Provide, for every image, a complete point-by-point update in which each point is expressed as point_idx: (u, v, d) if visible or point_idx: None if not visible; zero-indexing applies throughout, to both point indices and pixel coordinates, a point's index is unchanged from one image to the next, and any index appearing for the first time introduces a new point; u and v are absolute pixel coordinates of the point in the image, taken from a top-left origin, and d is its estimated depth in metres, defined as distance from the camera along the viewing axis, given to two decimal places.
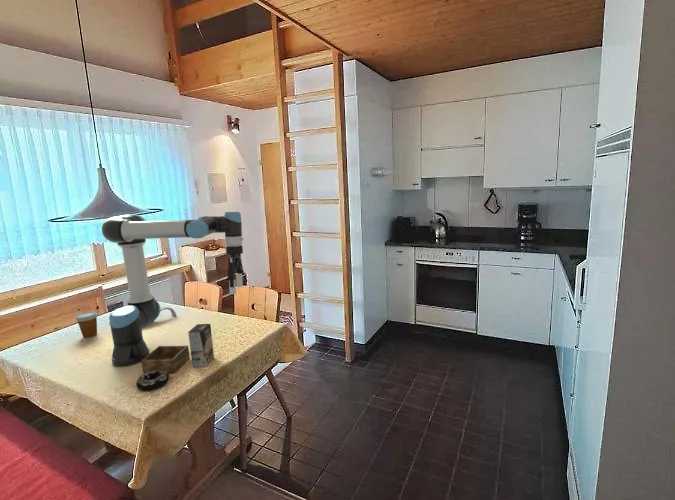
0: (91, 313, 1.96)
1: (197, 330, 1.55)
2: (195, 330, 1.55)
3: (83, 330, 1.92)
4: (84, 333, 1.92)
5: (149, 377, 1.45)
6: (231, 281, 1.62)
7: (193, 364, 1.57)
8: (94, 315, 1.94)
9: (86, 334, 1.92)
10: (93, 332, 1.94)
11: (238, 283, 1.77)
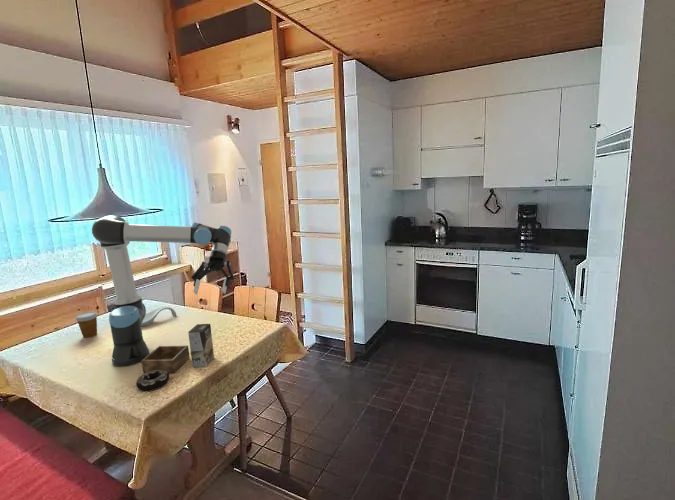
0: (91, 313, 1.96)
1: (197, 330, 1.55)
2: (195, 330, 1.55)
3: (83, 330, 1.92)
4: (84, 333, 1.92)
5: (149, 377, 1.45)
6: (229, 280, 1.71)
7: (193, 364, 1.57)
8: (94, 315, 1.94)
9: (86, 334, 1.92)
10: (93, 332, 1.94)
11: (196, 289, 1.70)
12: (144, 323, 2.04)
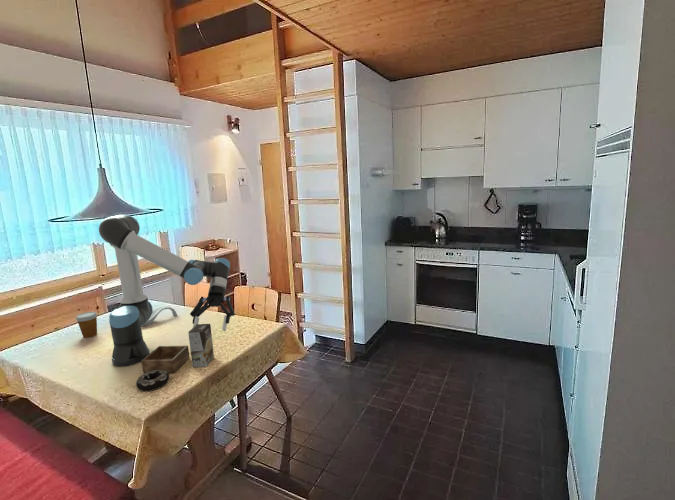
0: (91, 313, 1.96)
1: (197, 330, 1.55)
2: (195, 330, 1.55)
3: (83, 330, 1.92)
4: (84, 333, 1.92)
5: (149, 377, 1.45)
6: (229, 317, 1.67)
7: (193, 364, 1.57)
8: (94, 315, 1.94)
9: (86, 334, 1.92)
10: (93, 332, 1.94)
11: None
12: None
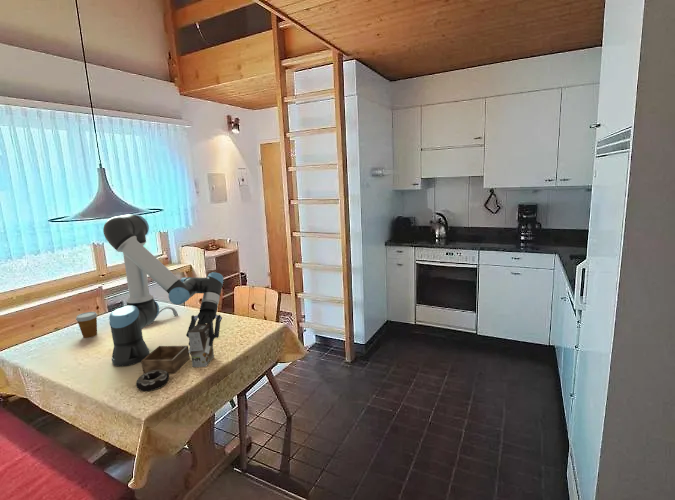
0: (91, 313, 1.96)
1: (197, 330, 1.55)
2: (195, 330, 1.55)
3: (83, 330, 1.92)
4: (84, 333, 1.92)
5: (149, 377, 1.45)
6: (213, 339, 1.59)
7: (193, 364, 1.57)
8: (94, 315, 1.94)
9: (86, 334, 1.92)
10: (93, 332, 1.94)
11: None
12: None
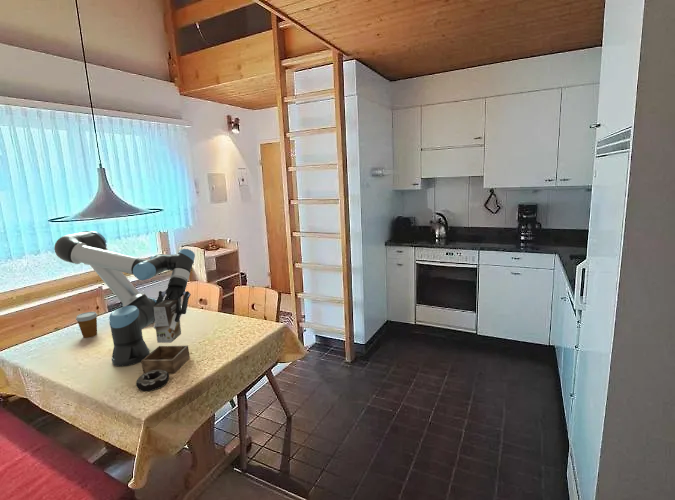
0: (91, 313, 1.96)
1: (163, 305, 1.51)
2: (161, 305, 1.51)
3: (83, 330, 1.92)
4: (84, 333, 1.92)
5: (149, 377, 1.45)
6: (179, 315, 1.56)
7: (158, 340, 1.53)
8: (94, 315, 1.94)
9: (86, 334, 1.92)
10: (93, 332, 1.94)
11: None
12: None
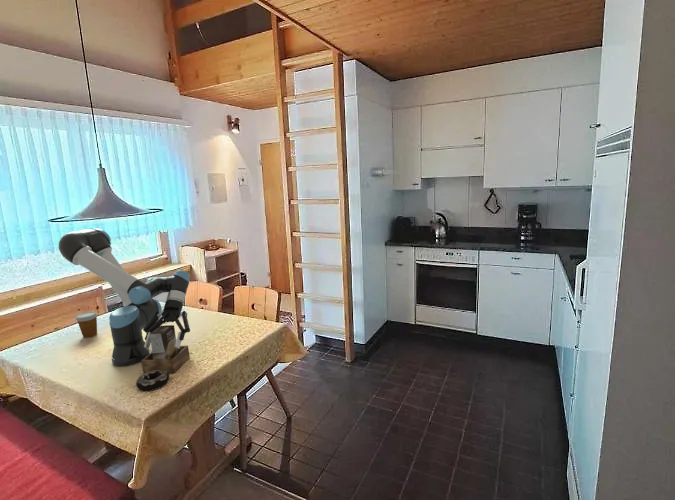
0: (91, 313, 1.96)
1: (159, 332, 1.53)
2: (157, 332, 1.53)
3: (83, 330, 1.92)
4: (84, 333, 1.92)
5: (149, 377, 1.45)
6: (184, 333, 1.58)
7: None
8: (94, 315, 1.94)
9: (86, 334, 1.92)
10: (93, 332, 1.94)
11: (147, 343, 1.56)
12: None
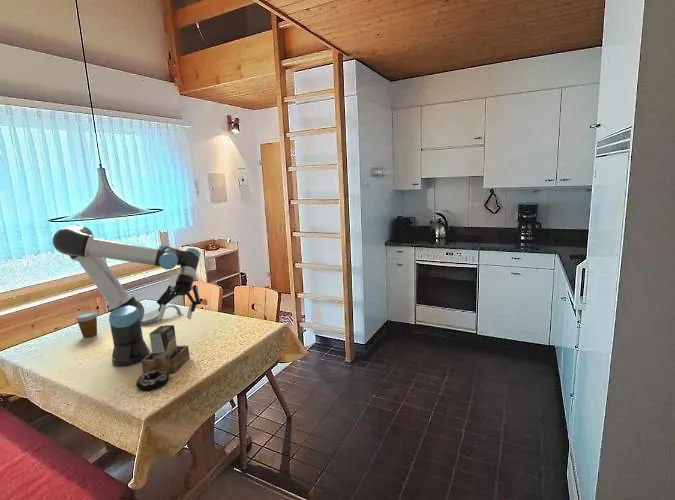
0: (91, 313, 1.96)
1: (159, 332, 1.53)
2: (157, 332, 1.53)
3: (83, 330, 1.92)
4: (84, 333, 1.92)
5: (149, 377, 1.45)
6: (195, 305, 1.69)
7: None
8: (94, 315, 1.94)
9: (86, 334, 1.92)
10: (93, 332, 1.94)
11: (161, 314, 1.67)
12: (149, 320, 2.07)
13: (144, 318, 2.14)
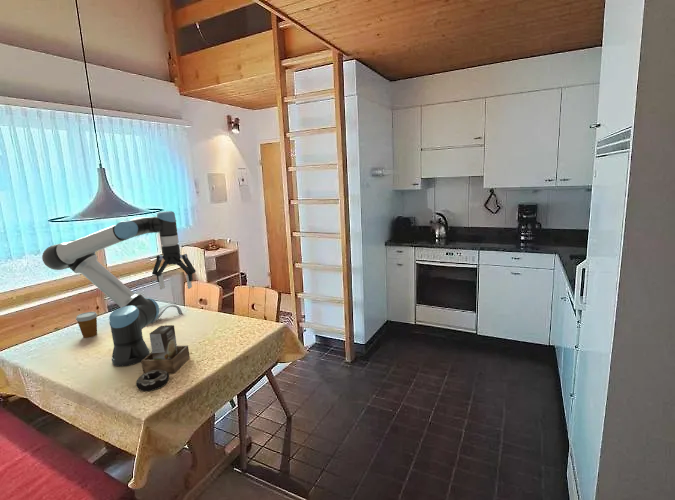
0: (91, 313, 1.96)
1: (159, 332, 1.53)
2: (157, 332, 1.53)
3: (83, 330, 1.92)
4: (84, 333, 1.92)
5: (149, 377, 1.45)
6: (191, 275, 1.73)
7: None
8: (94, 315, 1.94)
9: (86, 334, 1.92)
10: (93, 332, 1.94)
11: (162, 285, 1.74)
12: None
13: None
